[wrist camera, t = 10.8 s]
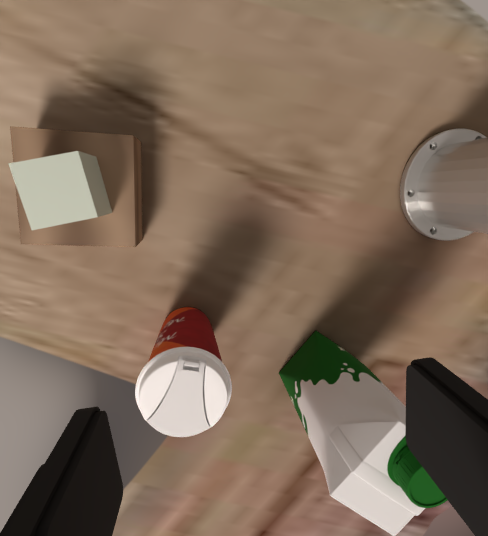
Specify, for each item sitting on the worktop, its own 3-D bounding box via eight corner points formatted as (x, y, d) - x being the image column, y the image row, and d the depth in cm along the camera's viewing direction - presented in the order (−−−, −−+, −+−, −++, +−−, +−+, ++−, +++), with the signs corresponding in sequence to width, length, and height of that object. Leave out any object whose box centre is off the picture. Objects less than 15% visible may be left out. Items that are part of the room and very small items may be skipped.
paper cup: (159, 292, 39) (141, 347, 25) (226, 304, 40) (243, 362, 27) (147, 355, 40) (124, 440, 27) (212, 364, 42) (221, 449, 28)
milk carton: (363, 358, 44) (493, 488, 25) (317, 410, 45) (409, 574, 26) (314, 320, 42) (417, 429, 23) (267, 374, 43) (328, 526, 24)
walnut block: (141, 142, 35) (133, 135, 30) (142, 239, 38) (135, 247, 33) (36, 135, 34) (10, 126, 29) (44, 236, 36) (20, 244, 31)
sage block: (96, 156, 30) (77, 150, 26) (112, 212, 32) (97, 217, 27) (38, 167, 30) (8, 163, 25) (56, 224, 31) (31, 230, 26)
